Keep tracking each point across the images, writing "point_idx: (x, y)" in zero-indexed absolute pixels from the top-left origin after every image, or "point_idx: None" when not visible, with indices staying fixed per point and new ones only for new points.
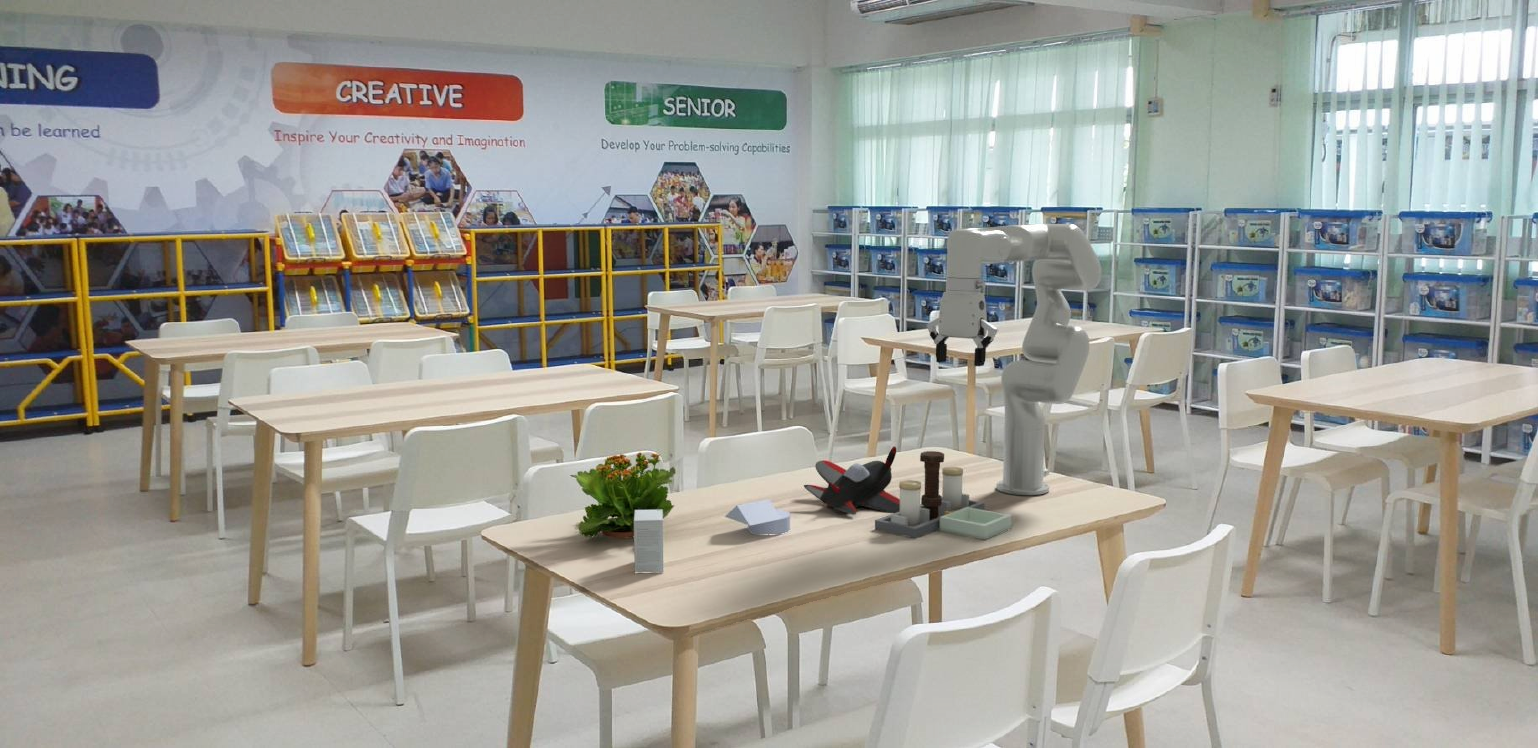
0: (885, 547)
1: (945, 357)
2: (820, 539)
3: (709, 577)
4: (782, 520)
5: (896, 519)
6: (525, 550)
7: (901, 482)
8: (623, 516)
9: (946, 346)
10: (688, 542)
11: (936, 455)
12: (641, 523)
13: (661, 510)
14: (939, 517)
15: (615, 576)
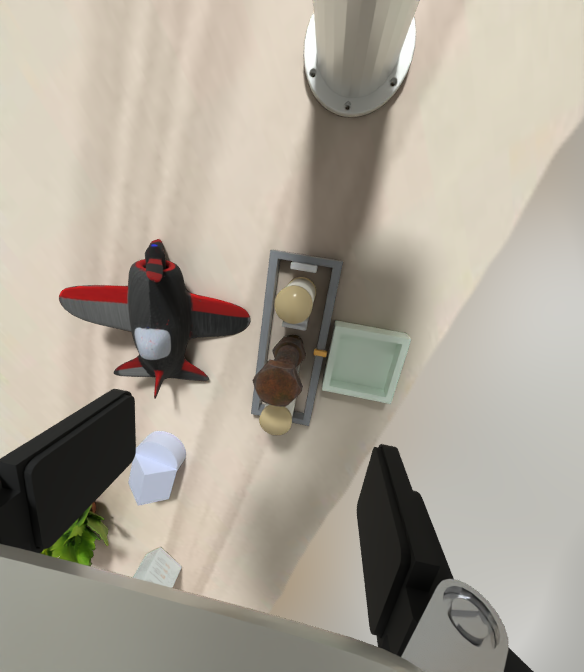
0: (296, 457)
1: (117, 415)
2: (226, 458)
3: (215, 564)
4: (178, 467)
5: None
6: None
7: (262, 424)
8: (82, 544)
9: (47, 460)
10: (139, 505)
11: (289, 397)
12: None
13: None
14: (313, 369)
15: None
